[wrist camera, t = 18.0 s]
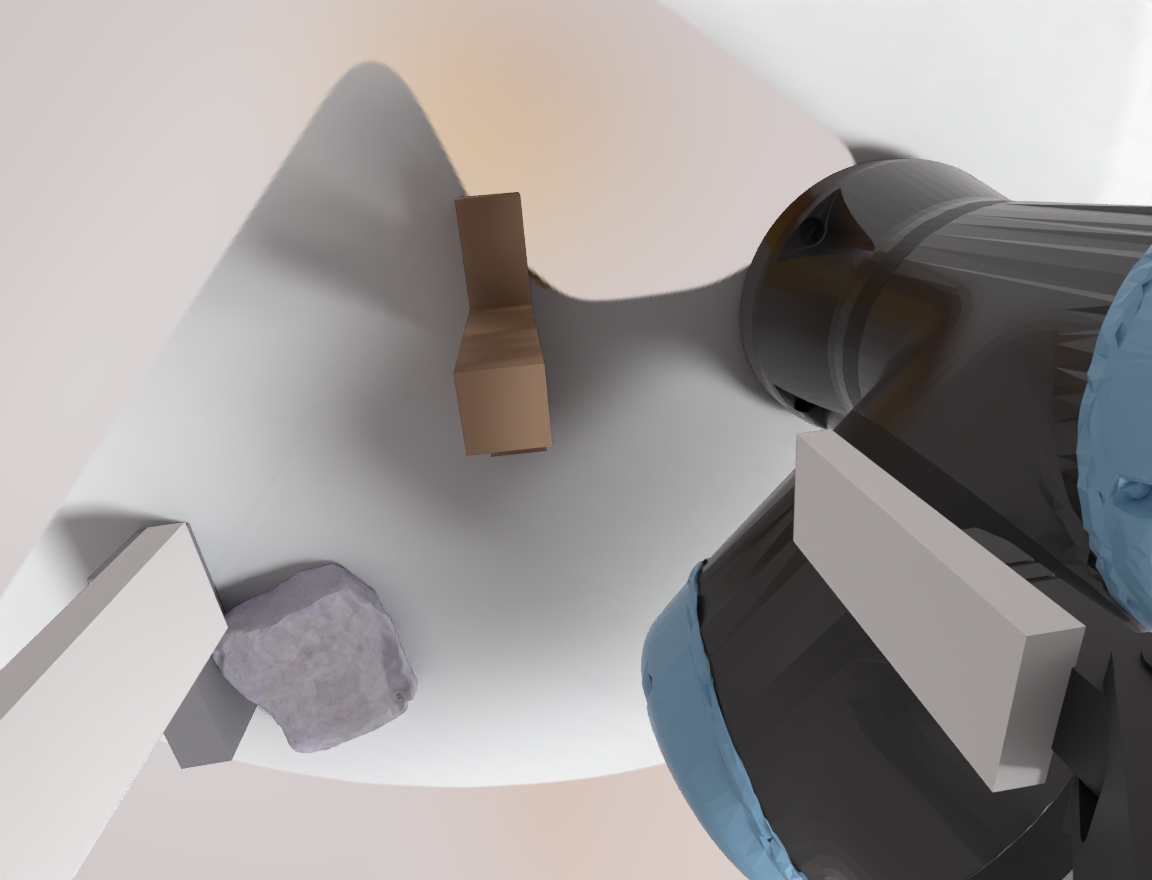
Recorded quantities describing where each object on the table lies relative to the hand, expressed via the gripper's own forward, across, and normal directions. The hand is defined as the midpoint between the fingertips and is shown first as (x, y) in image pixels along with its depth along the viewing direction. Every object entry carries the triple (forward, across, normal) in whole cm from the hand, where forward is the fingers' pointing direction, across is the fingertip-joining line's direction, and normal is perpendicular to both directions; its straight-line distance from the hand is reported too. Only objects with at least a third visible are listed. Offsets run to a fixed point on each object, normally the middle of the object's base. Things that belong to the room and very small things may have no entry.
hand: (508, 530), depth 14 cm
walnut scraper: (+23, 0, 0) cm, 23 cm away
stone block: (+24, +15, +20) cm, 34 cm away
